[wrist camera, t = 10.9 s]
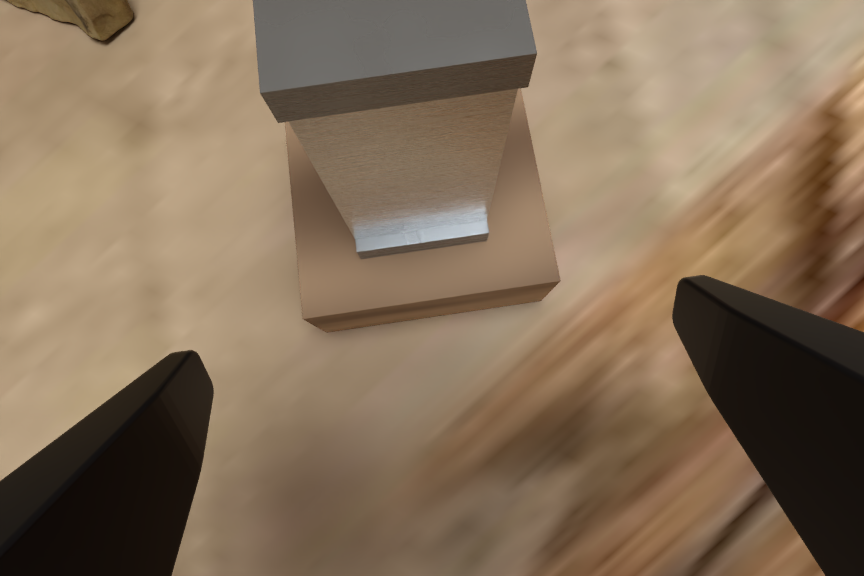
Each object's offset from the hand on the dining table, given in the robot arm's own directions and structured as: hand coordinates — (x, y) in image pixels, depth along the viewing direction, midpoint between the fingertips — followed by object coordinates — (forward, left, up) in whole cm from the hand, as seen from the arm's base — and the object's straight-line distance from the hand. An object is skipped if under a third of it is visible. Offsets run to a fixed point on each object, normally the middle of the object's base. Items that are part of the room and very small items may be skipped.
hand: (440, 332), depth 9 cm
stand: (+7, +3, -14) cm, 16 cm away
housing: (+7, +3, -10) cm, 12 cm away
